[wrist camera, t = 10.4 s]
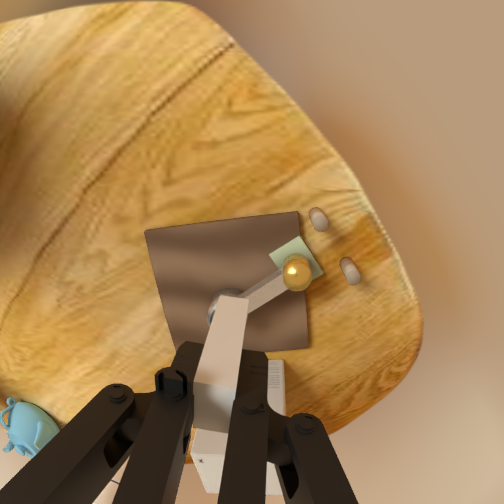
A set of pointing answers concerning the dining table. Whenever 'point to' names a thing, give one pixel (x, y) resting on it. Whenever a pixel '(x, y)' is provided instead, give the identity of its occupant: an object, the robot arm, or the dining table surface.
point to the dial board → (235, 275)
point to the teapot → (27, 427)
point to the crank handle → (270, 285)
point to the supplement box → (214, 443)
